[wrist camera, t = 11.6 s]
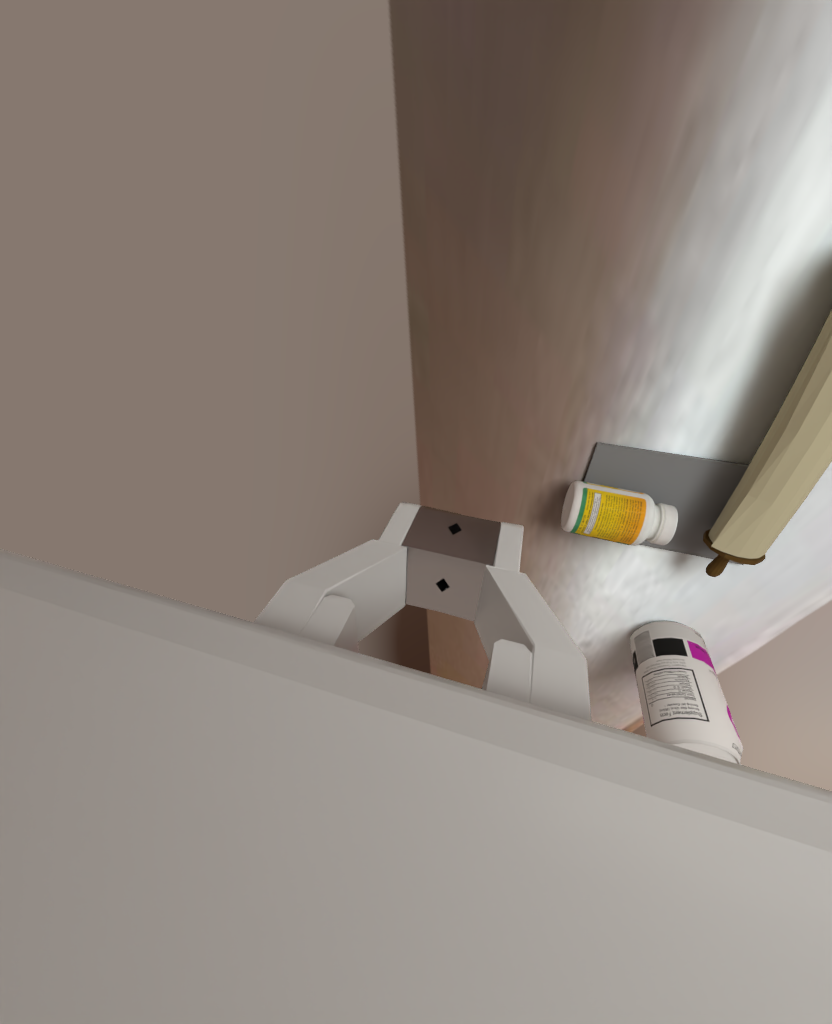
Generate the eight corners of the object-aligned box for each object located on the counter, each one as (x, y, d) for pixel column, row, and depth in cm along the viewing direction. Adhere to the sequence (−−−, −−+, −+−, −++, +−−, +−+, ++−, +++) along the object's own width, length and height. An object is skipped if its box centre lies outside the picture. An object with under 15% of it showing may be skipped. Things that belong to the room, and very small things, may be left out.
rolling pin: (732, 564, 41) (752, 598, 37) (674, 554, 42) (687, 586, 38) (1000, 154, 22) (1097, 135, 18) (882, 158, 24) (949, 140, 20)
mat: (597, 442, 38) (597, 444, 38) (808, 473, 34) (810, 476, 34) (567, 528, 45) (567, 530, 44) (742, 562, 41) (743, 564, 41)
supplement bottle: (573, 471, 40) (672, 488, 38) (559, 512, 43) (650, 531, 41) (576, 496, 36) (688, 518, 34) (560, 541, 39) (662, 563, 37)
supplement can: (715, 627, 47) (768, 757, 35) (684, 665, 52) (721, 790, 40) (643, 610, 49) (671, 730, 37) (619, 648, 53) (638, 765, 42)
